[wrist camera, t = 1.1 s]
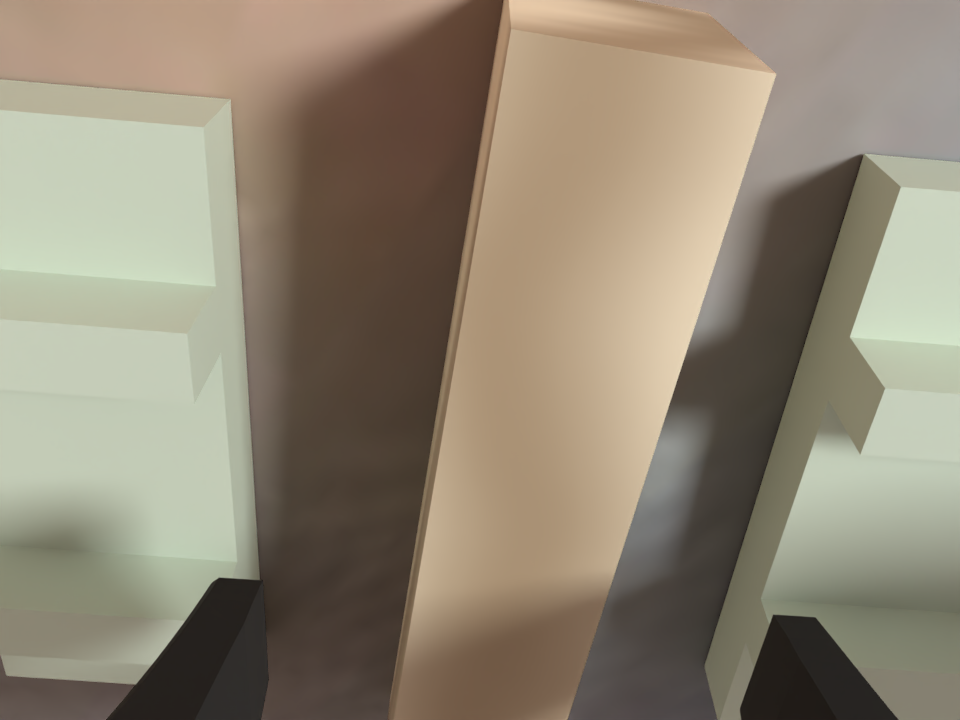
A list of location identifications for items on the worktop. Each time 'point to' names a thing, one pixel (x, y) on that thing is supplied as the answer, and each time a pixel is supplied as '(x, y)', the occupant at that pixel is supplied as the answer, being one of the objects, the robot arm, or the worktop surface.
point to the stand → (227, 431)
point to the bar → (566, 338)
